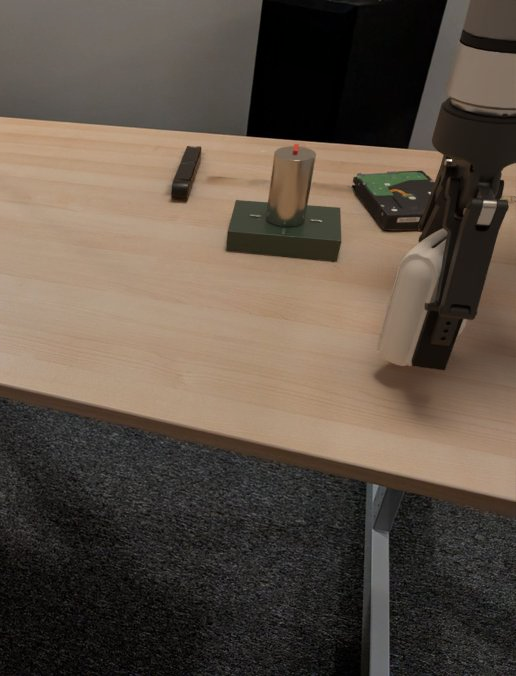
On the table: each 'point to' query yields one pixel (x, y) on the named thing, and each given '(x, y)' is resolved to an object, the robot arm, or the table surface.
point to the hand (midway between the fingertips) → (421, 334)
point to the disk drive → (395, 197)
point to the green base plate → (285, 233)
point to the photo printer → (412, 299)
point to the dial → (290, 185)
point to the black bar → (186, 173)
